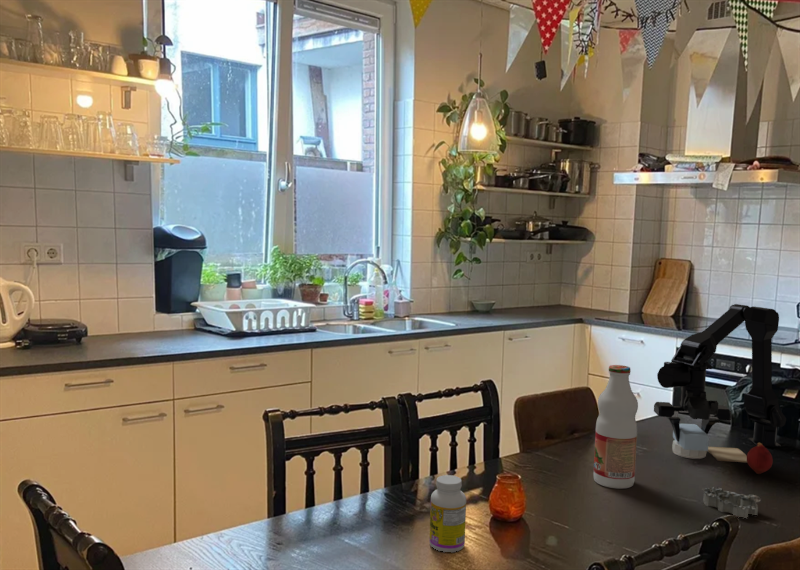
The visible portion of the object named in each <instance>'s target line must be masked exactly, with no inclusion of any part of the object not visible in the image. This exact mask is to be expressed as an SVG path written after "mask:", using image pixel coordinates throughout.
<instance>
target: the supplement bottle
mask: <svg viewBox="0 0 800 570" xmlns="http://www.w3.org/2000/svg"><path fill="white" fill-rule="evenodd" d="M435 483H436V484H435V485H436V488H437V489H435V490H434V491H432V493H431V496H430V507H429V509H430V511H429V512H430V513H429V514H430V515H429V536H428V539H429V545H430V547H431V548H432V547H433V548H434V549H433V548H432V549H433V550H435V549H436V551H437V550H438V551H437V552H440V551H443V552H442V553H445V552H451V553H456V551H457V552H459V551H461V550H463V548H464V547H465V543H466V519H467V518H466V515H467V496H466V494H465V493H464V492H463V491H462V490H461V488H462V486H463V485H462V483H463V482H462V478H461V477H459V476H456V475H452V474H451V475H450V474H444V475H440V476H437V478H436V481H435Z"/></svg>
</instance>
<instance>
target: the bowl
mask: <svg viewBox="0 0 800 570" xmlns="http://www.w3.org/2000/svg"><path fill="white" fill-rule="evenodd" d="M671 447H672V448H671V449H672V454H674V455H676V456H678V457H681V458H686V459H693V460H700V459H701V460H702V459H706V457H707V453H708V451H702V450H685V449H684V448H683V447H682V446H681V445H680V444H679V443H678V442H677V441H676V440H675V439H674V440H673V441H672V446H671Z"/></svg>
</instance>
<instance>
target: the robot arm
mask: <svg viewBox="0 0 800 570" xmlns="http://www.w3.org/2000/svg"><path fill="white" fill-rule="evenodd" d="M743 323H744V324H745V325H744V326H745V329H746V331H747V333H748V334H749V336H750V338H751V389H749V392H748V393H746V392H745V393H744V395H743V400H744V403H743V407H744V408H745V409H744V410H745V412H746V416H747V417H746V418H747V420H749V421H754V428H753V437H748V440H749V441H750V442H752V444H754V445H756V446H757V443H761V444H762V445H763V446H764V447H772V448H781V447H782V446H781V444H780V443H778V442H777V433H778V428H783V427H785V426H786V422H787V417H786V416H785V414H784V413H783V412H782V410H781V409H780V404H779V398H778V396H777V395H776V393H775V391H774V390H773V386H772V385H773V384H772V382H773V381H772V380H773V376H772V374H773V372H772V371H773V367H772V366H773V365H772V364H773V363H772V362H773V361H772V360H773V357H772V354H773V352H772V351H773V349H772V347H773V346H772V345H773V344H772V340H773V337H774V336H775V335H776V333H777V332H778V331H779V323H780V314H779V312H777V311H776V309H774V308H768V307H760V306H749V305H747V304H746V305H745V304H737V303H735V304H731V305H730V306H729V308H728V310H727V311H726V312H724V313H723V314H722V315H721V316H720V317H718V318H717V319H716V320H715V321H713V323H711V324H709V326H708V327H707V328H705V329H704V330H703V331H700V332H698V333H693V334H691V335H690V336H688V337H686V338H684V339H683V340H682V341H681V343H680V346H679V347H678V349H677V351H676V352H675V354H674V355H673V357H672V359H671V361H664V362H663V366H661V367H660V368H659V370H658V371H657V381H658V383H659V385H660V387H662V388H664V389H671V388H673V389H674V388H680V391H681V397H680V399H681V400H679V405H677V406H675V405H673V404H672V403H671V402H668V401H667V402H666V401H663V402H662V401H656V402H654V405H653V412H654V413H655V414H656V416H658V417H661V418H663V417H664V418H666V419H668V420H669V423H670V424H671V427H672V431H673V430H674V434H675V437H676V440H677V441H678V442H679V438H680V428H679V423H680V422H681V418H680V416H679V414H682V415H689V417H690V418H691V419H693V420H701V426H700V428H701V429H702V430H703V431H704V432H705V433H706V434H707V435H708V434H709V432H710V430H711V429H712V427H713V426H714V425H715V424H718V423H720V421H731V420H732V412H731V410H730V409H729V408H728V407H726V406H725V405H724V404H722V405H721V404H719V402H718V400H708V399H707V391H706V390H705V389H706V379H707V378H706V377H707V370H712V369H713V366H712V365H711V364H710V363H709V362H708V361H709V360H710V359H711V358H712V357H713V356H714V355H715V353H716V352H717V348H718V347H717V346H718V345H719V344H720V342H722V341H723V340H724V339H725V338H727V337H728V336H729V335H730V334H731V333H733V332H734V331H735V330H736V329H737V328H738V327H739V326H740V325H742V324H743Z"/></svg>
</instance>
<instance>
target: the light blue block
mask: <svg viewBox="0 0 800 570" xmlns="http://www.w3.org/2000/svg"><path fill="white" fill-rule="evenodd" d="M679 428H680V438H679V442H678V441H677V440H676V437H675V434H674V430H673V429H672V438H673V439H674V440H676V441H677V442H678V443H679V444H680V445H681V446H682V447H683V448H684V449H685V450H702V451H707V452H708V447H709V442H710V440H709V439H710V435H708V434H706V433H705V432H704V431H703V430H702V429H701V427H699V425H697V424H696V423H695V424H694V423H679Z"/></svg>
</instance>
